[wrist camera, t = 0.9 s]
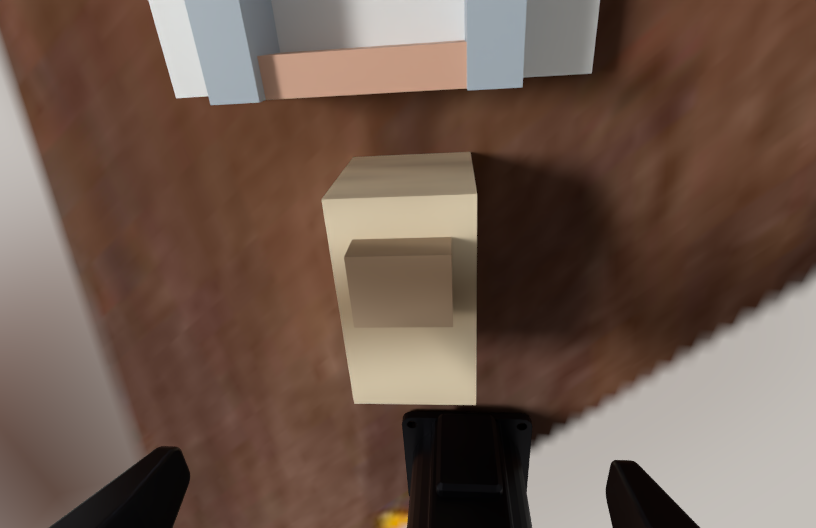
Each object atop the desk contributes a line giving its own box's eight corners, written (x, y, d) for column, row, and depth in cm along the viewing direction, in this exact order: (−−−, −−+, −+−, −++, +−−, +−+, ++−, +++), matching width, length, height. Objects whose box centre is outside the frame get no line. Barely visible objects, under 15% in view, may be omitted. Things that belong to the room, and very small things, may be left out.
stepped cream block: (470, 324, 21) (477, 431, 15) (374, 325, 21) (347, 428, 16) (470, 150, 17) (479, 209, 12) (353, 156, 18) (310, 214, 12)
